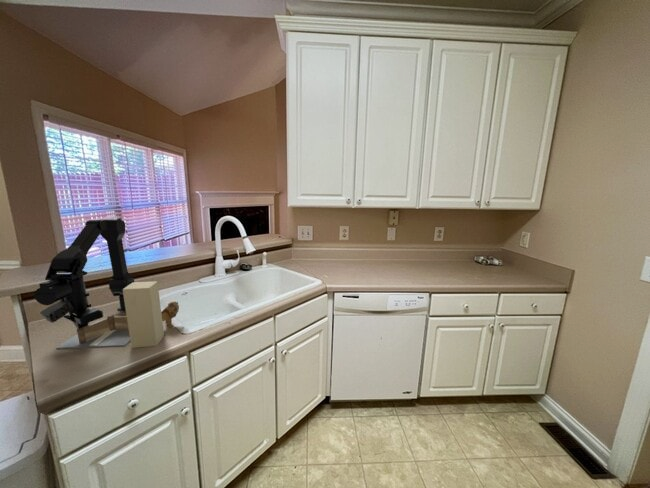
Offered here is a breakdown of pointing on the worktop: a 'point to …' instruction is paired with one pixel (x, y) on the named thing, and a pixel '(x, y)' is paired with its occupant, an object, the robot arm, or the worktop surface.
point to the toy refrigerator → (143, 313)
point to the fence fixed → (117, 322)
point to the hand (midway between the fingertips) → (82, 333)
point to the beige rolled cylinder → (93, 330)
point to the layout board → (100, 340)
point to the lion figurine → (170, 313)
